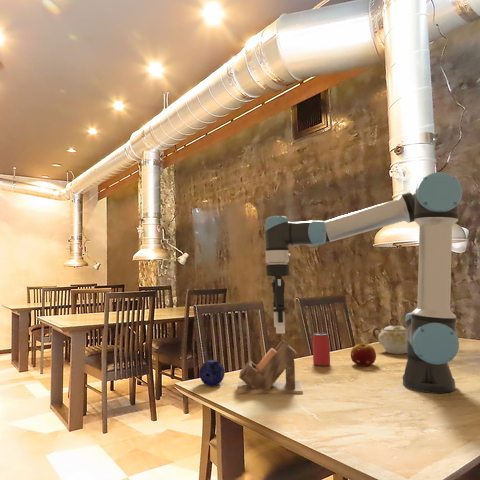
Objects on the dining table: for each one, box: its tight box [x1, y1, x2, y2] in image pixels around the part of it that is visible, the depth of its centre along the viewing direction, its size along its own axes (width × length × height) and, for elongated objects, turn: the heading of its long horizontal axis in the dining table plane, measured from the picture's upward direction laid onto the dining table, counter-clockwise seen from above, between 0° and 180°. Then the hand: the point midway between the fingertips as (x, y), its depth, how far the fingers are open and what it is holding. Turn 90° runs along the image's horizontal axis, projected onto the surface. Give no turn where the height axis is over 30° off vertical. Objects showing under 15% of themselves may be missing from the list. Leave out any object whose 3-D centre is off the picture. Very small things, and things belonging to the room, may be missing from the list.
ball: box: [199, 359, 225, 387], centre depth 135 cm, size 8×8×8 cm
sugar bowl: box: [372, 317, 407, 355], centre depth 181 cm, size 20×15×15 cm
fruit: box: [350, 343, 377, 367], centre depth 158 cm, size 10×9×8 cm
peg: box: [255, 347, 277, 373], centre depth 128 cm, size 4×4×12 cm
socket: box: [236, 339, 304, 395], centre depth 129 cm, size 20×11×16 cm, turn 88°
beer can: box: [312, 332, 331, 367], centre depth 160 cm, size 7×7×12 cm
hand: (279, 330), depth 130 cm, fingers open, 13 cm apart
